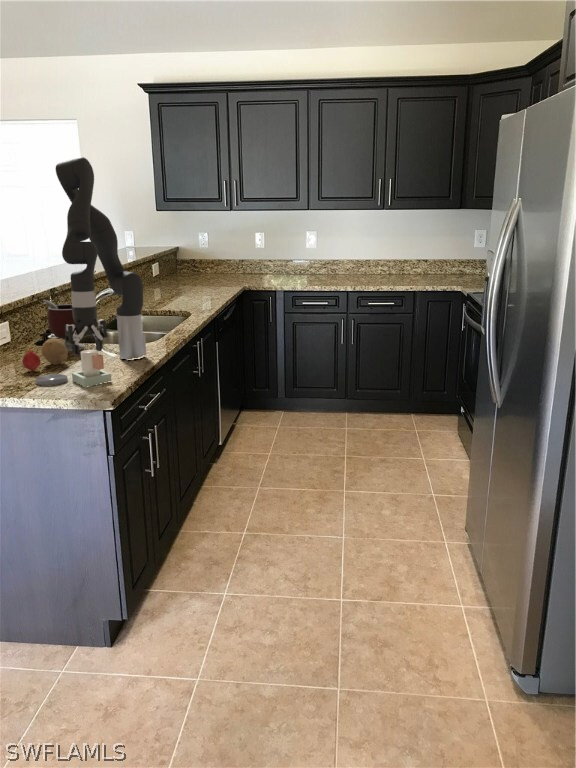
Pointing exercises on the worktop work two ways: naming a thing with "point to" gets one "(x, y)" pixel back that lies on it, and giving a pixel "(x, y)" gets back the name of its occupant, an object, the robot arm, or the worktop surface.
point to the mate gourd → (61, 321)
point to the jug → (91, 363)
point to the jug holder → (91, 378)
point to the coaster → (51, 379)
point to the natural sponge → (54, 351)
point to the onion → (31, 360)
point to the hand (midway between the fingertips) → (87, 353)
